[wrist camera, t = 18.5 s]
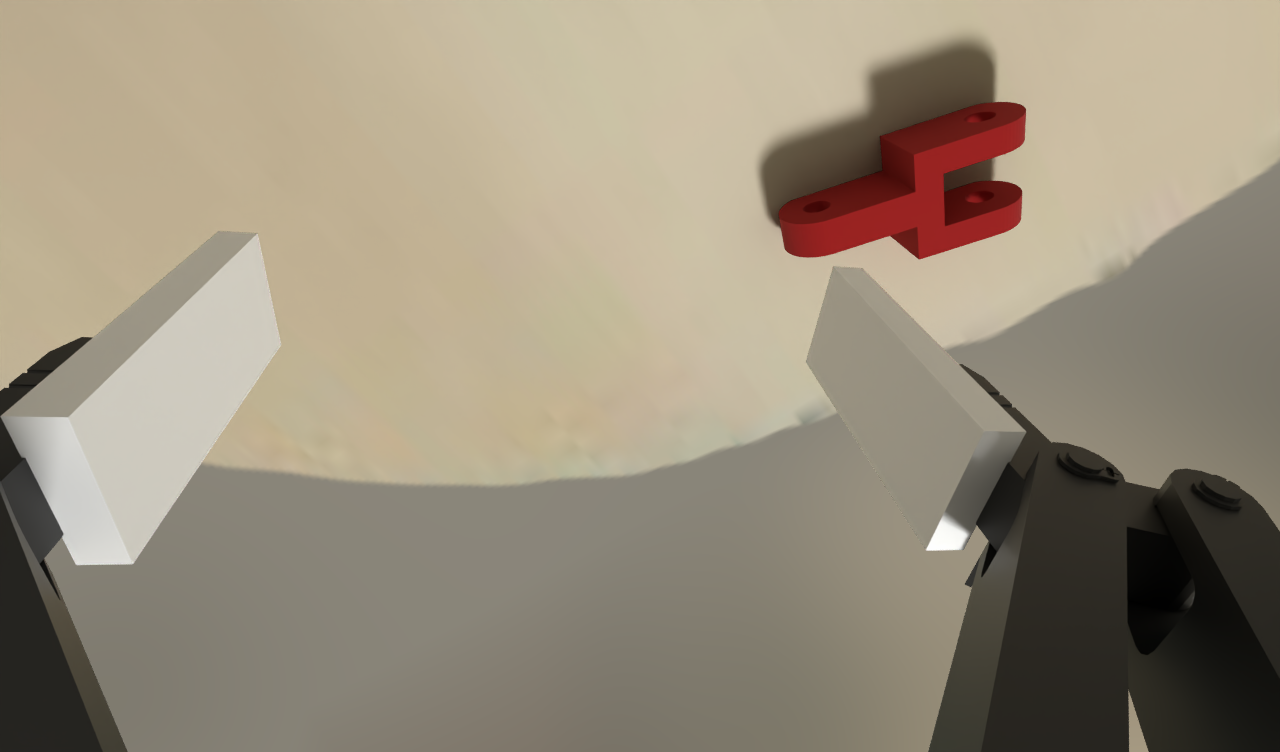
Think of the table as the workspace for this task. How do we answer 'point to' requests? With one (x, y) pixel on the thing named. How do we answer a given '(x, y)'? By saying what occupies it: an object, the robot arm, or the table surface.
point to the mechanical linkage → (917, 190)
